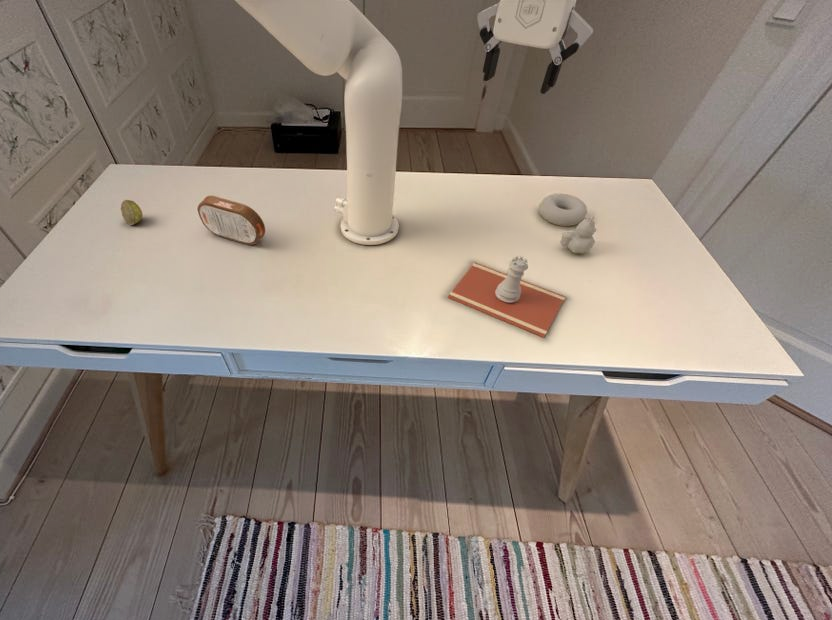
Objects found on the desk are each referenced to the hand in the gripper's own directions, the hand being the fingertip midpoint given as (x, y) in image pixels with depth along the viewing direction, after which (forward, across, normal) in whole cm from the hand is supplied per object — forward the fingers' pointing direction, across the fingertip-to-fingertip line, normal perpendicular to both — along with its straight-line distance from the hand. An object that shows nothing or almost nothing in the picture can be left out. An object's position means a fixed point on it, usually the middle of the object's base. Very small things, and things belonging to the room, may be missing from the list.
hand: (516, 84), depth 69 cm
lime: (+29, -64, -40) cm, 81 cm away
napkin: (+28, +13, -16) cm, 35 cm away
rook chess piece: (+28, +13, -16) cm, 35 cm away
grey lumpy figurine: (+28, +19, +6) cm, 34 cm away
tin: (+29, -42, -31) cm, 59 cm away
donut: (+28, +13, +17) cm, 35 cm away
